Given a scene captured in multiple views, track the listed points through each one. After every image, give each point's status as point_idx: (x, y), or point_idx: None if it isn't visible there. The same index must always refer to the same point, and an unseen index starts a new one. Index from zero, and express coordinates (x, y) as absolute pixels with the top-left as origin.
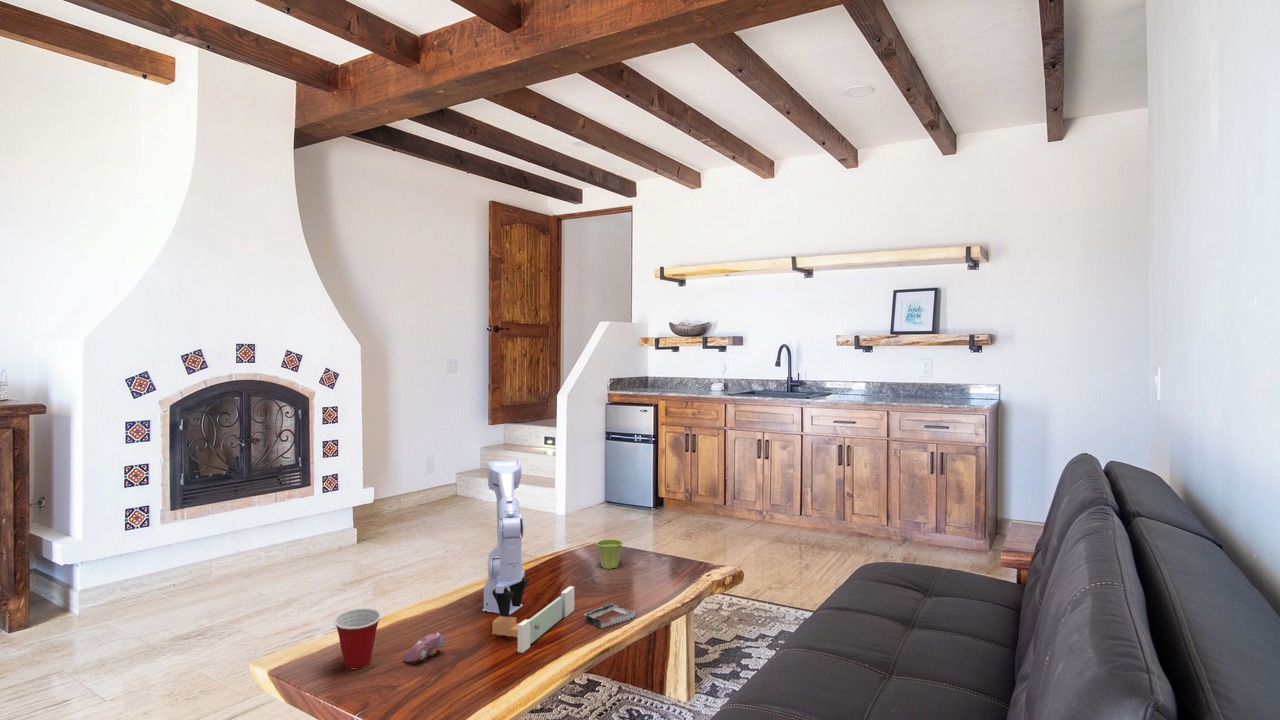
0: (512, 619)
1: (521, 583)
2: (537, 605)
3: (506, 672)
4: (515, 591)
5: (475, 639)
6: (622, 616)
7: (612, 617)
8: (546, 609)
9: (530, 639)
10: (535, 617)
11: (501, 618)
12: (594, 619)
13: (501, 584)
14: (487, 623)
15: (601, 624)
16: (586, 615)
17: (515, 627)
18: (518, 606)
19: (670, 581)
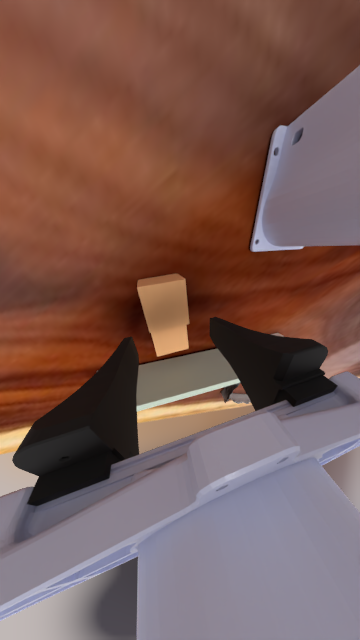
0: (175, 323)
1: (260, 404)
2: (301, 275)
3: (18, 403)
4: (239, 354)
5: (83, 257)
6: (246, 400)
7: (238, 402)
8: (204, 391)
9: None
10: (153, 406)
11: (169, 295)
12: (233, 389)
13: (16, 609)
14: (192, 219)
15: (223, 397)
16: None
17: (162, 331)
18: (210, 333)
19: (346, 367)
